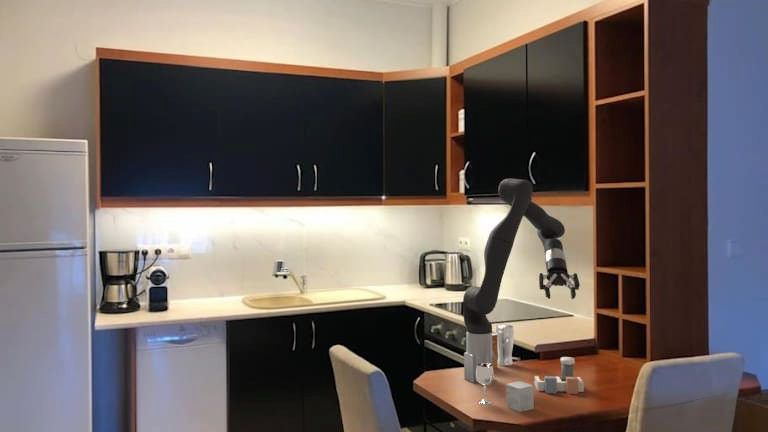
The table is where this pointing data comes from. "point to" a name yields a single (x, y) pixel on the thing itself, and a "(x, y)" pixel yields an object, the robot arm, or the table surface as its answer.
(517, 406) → the product box
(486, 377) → the wineglass
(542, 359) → the table surface
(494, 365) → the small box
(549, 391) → the socket block
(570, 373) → the blue white-capped bottle
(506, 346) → the beer glass
